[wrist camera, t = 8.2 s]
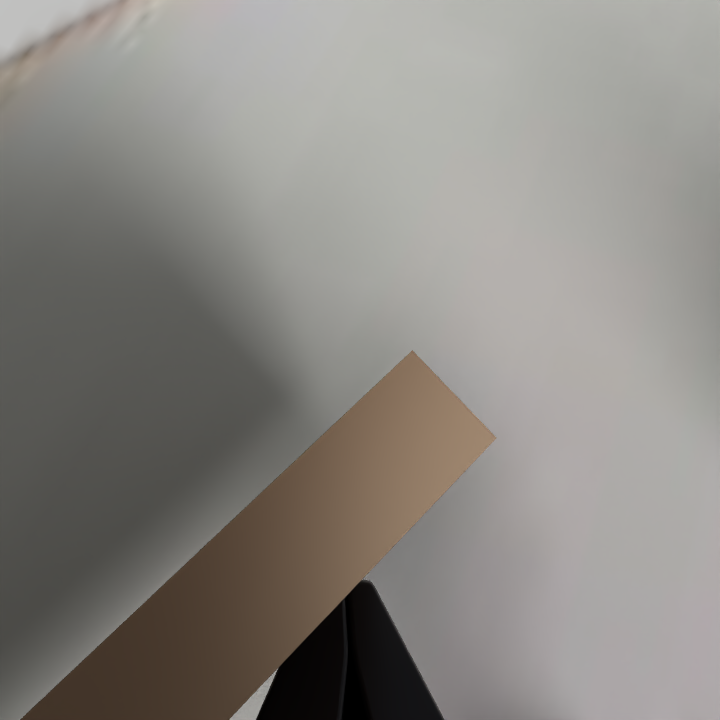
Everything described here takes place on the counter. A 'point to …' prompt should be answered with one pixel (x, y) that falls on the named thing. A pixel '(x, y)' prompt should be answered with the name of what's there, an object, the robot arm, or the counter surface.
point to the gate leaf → (280, 561)
